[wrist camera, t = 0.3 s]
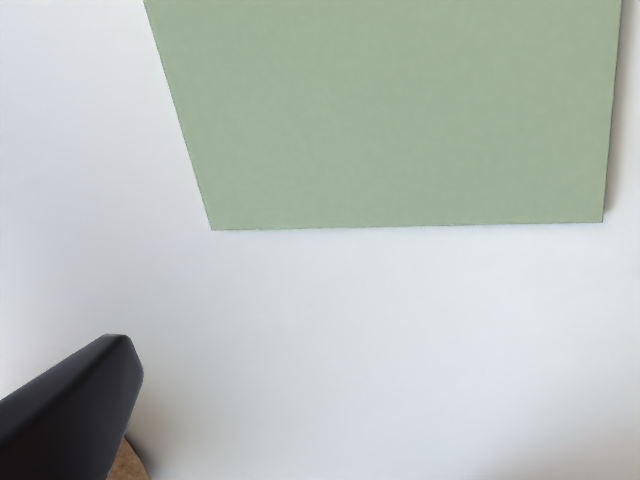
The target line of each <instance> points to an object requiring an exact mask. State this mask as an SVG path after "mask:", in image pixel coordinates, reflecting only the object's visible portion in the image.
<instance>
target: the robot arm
mask: <svg viewBox="0 0 640 480" xmlns="http://www.w3.org/2000/svg"><path fill="white" fill-rule="evenodd" d="M143 377H144V372H143V367H142V364H141V362H140V360H139V357H138V355H137V352H136V350H135V348H134V345H133V343H132V341H131V339H130V338H129V337H128V336H126V335H121V334H105V335H102V336H101V337H99V338H97V339H96V340H94V341H93V342H91V343H90V344H88V345H86V346H85V347H83V348H82V349H80V350H79V351H77V352H76V353H74V354H72V355H71V356H69V357H68V358H66V359H65V360H63V361H61V362H60V363H58V364H57V365H55V366H54V367H52V368H50V369H49V370H47V371H46V372H44V373H43V374H41V375H39V376H38V377H36V378H35V379H33V380H32V381H30V382H28V383H27V384H25V385H24V386H22V387H21V388H19V389H17V390H16V391H14V392H13V393H11V394H10V395H8V396H7V397H5V398H3V399H2V400H0V480H107V478H108V475H109V473H110V471H111V469H112V466H113V464H114V462H115V459H116V456H117V454H118V451H119V449H120V446H121V443H122V440H123V437H124V434H125V432H126V429H127V426H128V423H129V420H130V417H131V414H132V411H133V409H134V406H135V403H136V400H137V397H138V394H139V391H140V388H141V386H142V382H143Z"/></svg>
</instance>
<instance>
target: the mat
mask: <svg viewBox="0 0 640 480" xmlns="http://www.w3.org/2000/svg"><path fill="white" fill-rule="evenodd" d="M143 2H144V6H145V9H146V12H147V16H148V19H149V22H150V26H151V29H152V32H153V36H154V39H155V42H156V46H157V49H158V52H159V56H160V59H161V62H162V66H163V69H164V73H165V76H166V79H167V83H168V86H169V89H170V93H171V96H172V99H173V103H174V106H175V109H176V113H177V116H178V119H179V123H180V126H181V129H182V133H183V136H184V139H185V143H186V146H187V149H188V153H189V156H190V159H191V163H192V166H193V169H194V173H195V176H196V179H197V183H198V186H199V190H200V193H201V196H202V200H203V203H204V206H205V210H206V213H207V216H208V220H209V223H210V226H211V230H255V229H303V228H352V227H400V226H449V225H497V224H545V223H594V222H602V221H603V211H604V200H605V189H606V178H607V167H608V155H609V144H610V133H611V122H612V111H613V99H614V88H615V77H616V66H617V55H618V44H619V32H620V21H621V10H622V0H143Z"/></svg>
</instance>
